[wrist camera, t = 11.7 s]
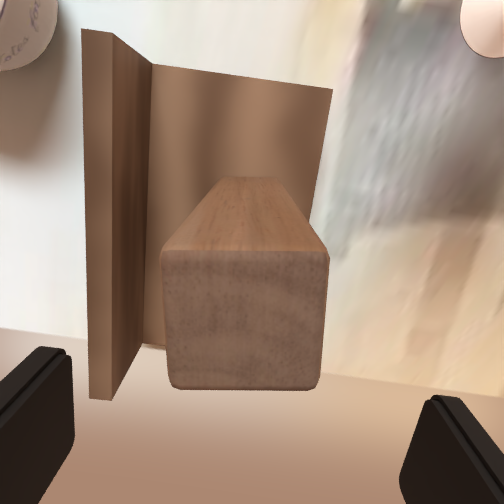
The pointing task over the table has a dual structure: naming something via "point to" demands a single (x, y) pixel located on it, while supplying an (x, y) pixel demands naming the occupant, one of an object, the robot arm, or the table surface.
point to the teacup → (25, 30)
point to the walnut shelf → (171, 176)
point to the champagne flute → (484, 26)
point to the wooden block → (244, 291)
